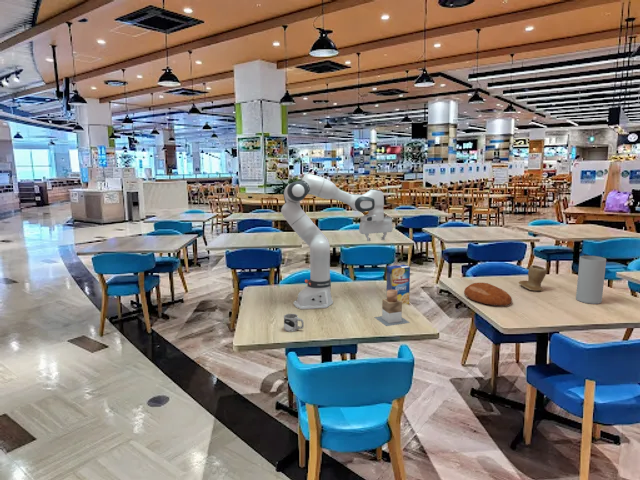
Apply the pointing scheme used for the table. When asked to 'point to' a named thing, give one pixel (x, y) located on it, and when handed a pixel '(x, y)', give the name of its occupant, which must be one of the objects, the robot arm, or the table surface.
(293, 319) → the mug
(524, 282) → the brown boot
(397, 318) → the grey tower block
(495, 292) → the bread
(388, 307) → the tan wooden block
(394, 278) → the beverage box
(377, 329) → the table surface
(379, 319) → the blue-grey board
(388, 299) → the brown rounded knob
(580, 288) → the cylinder vase
